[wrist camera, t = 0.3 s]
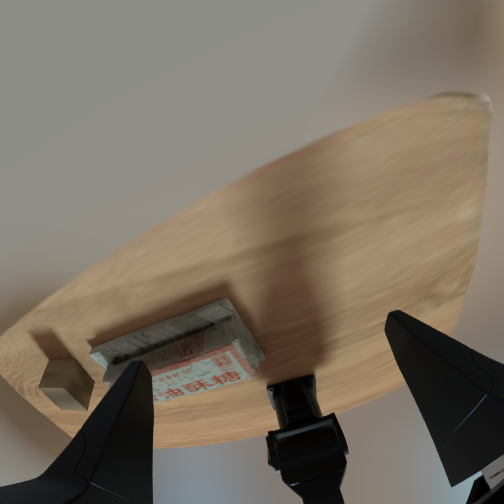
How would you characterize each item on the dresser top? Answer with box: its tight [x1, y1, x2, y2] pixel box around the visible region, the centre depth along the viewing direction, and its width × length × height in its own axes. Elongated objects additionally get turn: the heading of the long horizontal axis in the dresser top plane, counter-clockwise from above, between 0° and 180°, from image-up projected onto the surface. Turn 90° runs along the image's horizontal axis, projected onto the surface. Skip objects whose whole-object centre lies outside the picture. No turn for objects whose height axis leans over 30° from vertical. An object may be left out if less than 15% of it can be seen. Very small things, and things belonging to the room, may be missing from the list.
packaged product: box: [89, 298, 266, 403], centre depth 27 cm, size 18×5×10 cm
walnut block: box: [38, 358, 95, 411], centre depth 27 cm, size 5×5×5 cm
